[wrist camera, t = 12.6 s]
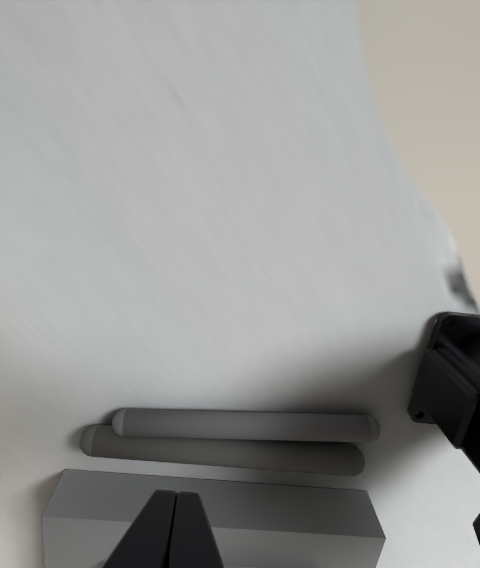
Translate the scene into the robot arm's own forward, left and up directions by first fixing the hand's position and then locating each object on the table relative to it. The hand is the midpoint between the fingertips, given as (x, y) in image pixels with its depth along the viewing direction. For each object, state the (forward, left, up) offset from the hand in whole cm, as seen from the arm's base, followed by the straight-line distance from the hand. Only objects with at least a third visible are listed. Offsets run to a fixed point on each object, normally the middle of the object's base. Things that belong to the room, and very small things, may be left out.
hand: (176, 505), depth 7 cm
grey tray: (-2, +18, -12) cm, 22 cm away
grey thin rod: (-3, +7, -12) cm, 14 cm away
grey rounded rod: (-2, +9, -12) cm, 15 cm away
